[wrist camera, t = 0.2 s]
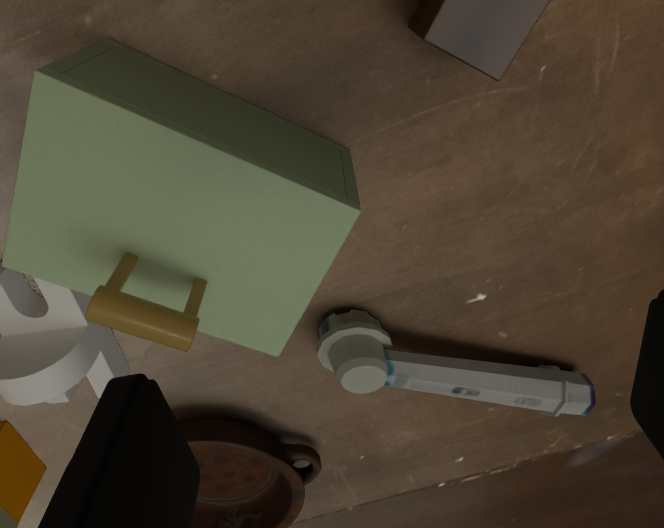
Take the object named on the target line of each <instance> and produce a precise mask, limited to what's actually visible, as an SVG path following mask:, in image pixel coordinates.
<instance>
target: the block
mask: <svg viewBox="0 0 664 528" xmlns="http://www.w3.org/2000/svg"><path fill="white" fill-rule="evenodd" d="M549 2H550V0H422V1H421V3H420V5H419V7H418V8H417V10H416V12H415V14H414V16H413V18H412V20H411V22H410V24H409V26H408V27H409V28H410V29H411V30H412V31H413V32H415V33H416V34H417V35H418V36H419V37H421V38H422V39H423V40H424V41H426V42H428V43H430V44H431V45H433V46H435V47H437V48H439V49H441V50H442V51H444V52H446V53H448V54H450V55H451V56H453V57H455V58H457V59H459V60H460V61H462V62H464V63H466V64H468V65H469V66H471V67H473V68H475V69H477V70H478V71H480V72H482V73H484V74H486V75H488V76H489V77H491V78H493V79H495V80H497V81H499V80H500V79H501V77H502V76H503V74H504V73H505V71H506V70H507V68H508V66H509V65H510V63H511V62H512V60H513V59H514V57H515V55H516V54H517V52H518V51H519V49H520V47H521V46H522V44H523V43H524V41H525V40H526V38H527V36H528V35H529V33H530V32H531V30H532V29H533V27H534V25H535V24H536V22H537V21H538V19H539V17H540V16H541V14H542V13H543V11H544V10H545V8H546V6H547V5H548V3H549Z"/></svg>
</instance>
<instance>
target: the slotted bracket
mask: <svg viewBox="0 0 664 528" xmlns="http://www.w3.org/2000/svg"><path fill="white" fill-rule="evenodd" d="M34 279H35V281H36V283H37V285H38V287H39V289H40V290H41V292H42V294H43V296H44V297H42V296H40V295H38V294H36V293H35V292H34V291H33V290H32V289H31V287H30V286H29V284H28V282H27V280H26V279H25V277H24V275H23V273H20V272H17V271H14V270H11V269H8V268H5V267H2V261H0V333H1V335H2V337H1V338H0V395H1V397H2V398H3V399H4V400H5V401H7V402H8V403H10V404H14V405H31V404H36V403H41V402H44V401H46V402H48V403H61V402H69V401H70V399H71V397H72V396H73V394H74V392H75V390H76V388H77V386H78V384H79V382H80V381H81V379H82V378H84V377H85V376H87V378H88V380H89V381H90V383H91V385H92V387H93V389H94V391H95V393H96V394H97V396H98V398H101V396H102V393H103V391H104V389H105V387H106V385H107V383H108V382H109V380H111V379H112V378H115V377H122V376H127V374H128V372H129V366H128V364H127V362H126V359H125V357H124V355H123V353H122V351H121V349H120V347H119V345H118V342H117V340H116V338H115V336H114V334H113V332H112V330H111V328H109V327H105V326H102V325H99V324H96V323H93V322H90V321H87V320H85V315H86V311H87V308H88V305H89V303H90V301H91V298H92V296H90V295H87V294H84V293H81V292H78V291H75V290H72V289H69V288H66V287H63V286H60V285H57V284H53V283H50V282H47V281H44V280H41V279H38V278H35V277H34Z"/></svg>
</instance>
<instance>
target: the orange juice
mask: <svg viewBox="0 0 664 528" xmlns="http://www.w3.org/2000/svg"><path fill="white" fill-rule="evenodd" d="M45 470H46V467H45V466H44V464H43V463H42V462H41V461H40V460H39V458H38V457H37V456H36V455H35V454H34V452H33V451H32V450H31V449H30V448H29V446H28V445H27V444H26V443H25V442H24V440H23V439H22V438H21V437H20V436H19V434H18V433H17V432H16V431H15V430H14V428H13V427H12V426H11V425H10V424H9V422H8V421H4V422H0V528H17V527H18V525H19V524H18V523H19V521H20V519H21V517H22V515H23V513H24V511H25V509H26V508H27V506H28V504H29V502H30V500H31V498H32V496H33V494H34V492H35V490H36V488H37V486H38V484H39V482H40V480H41V478H42V476H43V474H44V472H45Z"/></svg>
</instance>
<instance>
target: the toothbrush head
mask: <svg viewBox="0 0 664 528" xmlns="http://www.w3.org/2000/svg"><path fill="white" fill-rule="evenodd" d="M318 334H319V339H320V340H319V343H318V345H317V348H316V350H317V355H318V357H319V359H320V361H321V364H322V366H323V367H325V368H327V369H329V370H331V371H332V372H334V374H335V376H336V378H337V381H338V383H339V384H340V385H341V386H342V387H343V388H344V389H346V390H348V391H350V392H352V393H360V394H365V393H369V392H374V391H376V390H378V389H379V388H381V387H382V386H384V385H385V386H391V387H397V388H404V389H410V390H416V391H422V392H429V393H435V394H441V395H447V396H454V397H460V398H466V399H472V400H478V401H485V402H491V403H497V404H503V405H510V406H516V407H522V408H528V409H535V410H537V411H538V413H539V414H542V415H549V416H558V415H559V414H560V413H567V414H577V415H586V414H587V413H588V412H589V411H590V410H591V409H592V407H593V406H594V405H595V385H594V384H593V383H592V381H591V380H590V379H589V378H588V376H587V375H586V374H584V373H577V372H569V371H561V370H560V369H559V367H558V366H543V365H540V366H539V368H536V367H528V366H519V365H511V364H502V363H493V362H485V361H476V360H468V359H459V358H451V357H442V356H433V355H425V354H416V353H408V352H399V351H394V349H393V346H392V343H391V339H390V337H389V334H388V333H387V332H386V331H384V330H383V329H381V326H380V324H379V321H378V319H377V320H375V319H374V318H372V317H371V316H369V315H368V314H367V312H365V311H358V310H352V309H351V310H350V312H349V313H344V314H339V315H336V314H335V313H333V314H332V315H330V316H329V317H327V318H326V319H325V320H323V321H322V323H321V326H320V328H319V331H318Z"/></svg>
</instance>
